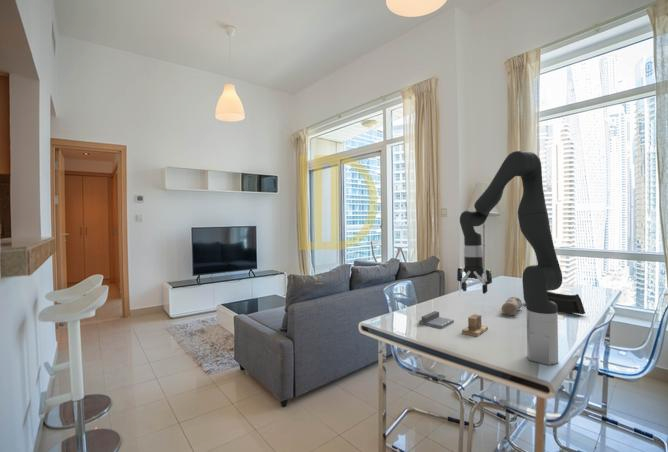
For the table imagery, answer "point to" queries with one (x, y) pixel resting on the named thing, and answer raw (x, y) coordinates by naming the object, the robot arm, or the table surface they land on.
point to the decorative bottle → (511, 306)
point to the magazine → (567, 302)
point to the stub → (474, 326)
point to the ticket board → (435, 320)
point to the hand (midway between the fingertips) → (474, 292)
